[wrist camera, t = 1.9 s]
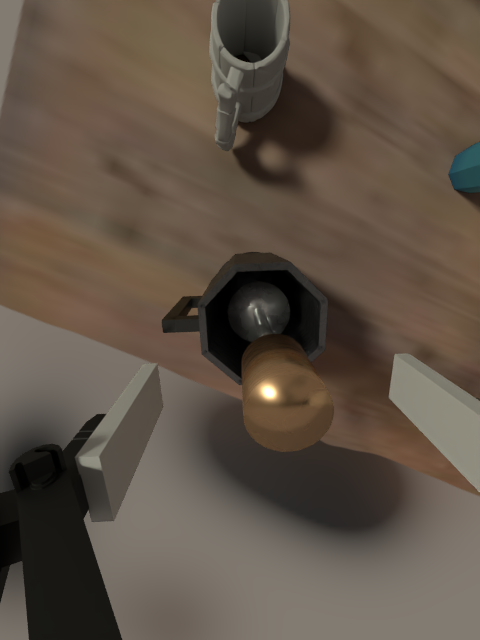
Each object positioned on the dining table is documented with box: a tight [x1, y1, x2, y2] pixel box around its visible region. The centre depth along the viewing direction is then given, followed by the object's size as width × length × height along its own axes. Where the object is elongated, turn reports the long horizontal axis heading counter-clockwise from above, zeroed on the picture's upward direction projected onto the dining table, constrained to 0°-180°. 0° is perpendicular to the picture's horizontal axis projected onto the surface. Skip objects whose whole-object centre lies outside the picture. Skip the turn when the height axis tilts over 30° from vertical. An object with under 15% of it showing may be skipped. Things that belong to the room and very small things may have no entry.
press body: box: [162, 252, 328, 385], centre depth 31 cm, size 15×11×15 cm
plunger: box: [228, 281, 334, 452], centre depth 20 cm, size 6×6×17 cm
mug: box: [209, 0, 290, 151], centre depth 26 cm, size 8×12×12 cm, turn 160°
